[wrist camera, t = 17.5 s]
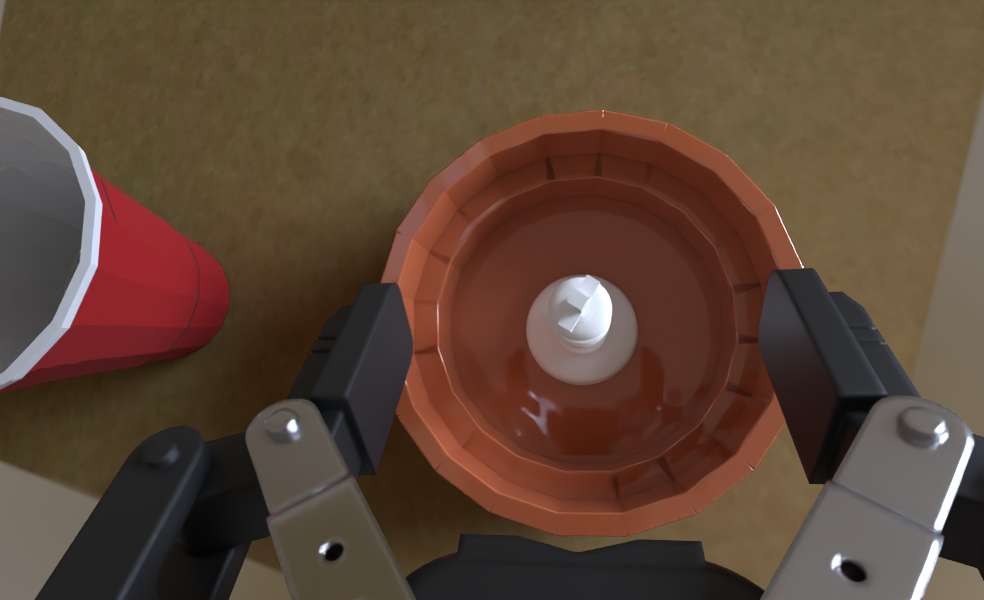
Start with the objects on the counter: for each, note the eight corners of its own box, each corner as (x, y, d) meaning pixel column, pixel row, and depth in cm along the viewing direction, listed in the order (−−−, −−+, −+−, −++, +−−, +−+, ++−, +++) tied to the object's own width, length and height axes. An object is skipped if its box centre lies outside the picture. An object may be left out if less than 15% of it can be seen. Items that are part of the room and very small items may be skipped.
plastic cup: (319, 253, 29) (141, 168, 18) (209, 443, 29) (-49, 487, 17) (157, 161, 32) (-96, 31, 20) (53, 337, 31) (-270, 311, 19)
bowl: (375, 441, 28) (325, 456, 22) (469, 132, 29) (443, 76, 24) (712, 554, 25) (747, 603, 19) (799, 205, 26) (855, 160, 21)
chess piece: (658, 310, 26) (703, 267, 16) (601, 406, 26) (611, 423, 16) (561, 255, 27) (548, 184, 17) (506, 348, 27) (459, 330, 17)
